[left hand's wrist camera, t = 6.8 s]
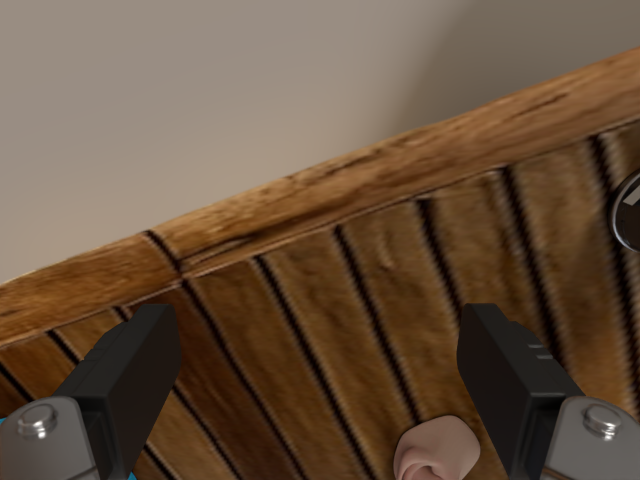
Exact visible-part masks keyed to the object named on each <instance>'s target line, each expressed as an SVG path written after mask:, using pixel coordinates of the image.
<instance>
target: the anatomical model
mask: <svg viewBox="0 0 640 480" xmlns="http://www.w3.org/2000/svg"><path fill="white" fill-rule="evenodd" d="M479 455H480V445H479V442H478V440H477V438H476V436H475V434H474V433H473V432H472V430H471V429H470V428H469V427H468V426H467V425H466V424H465V423H464V422H463V421H462V420H461V419H459V418H457V417H455V416H442V417H438V418H435V419H432V420H430V421H427V422H424V423H422V424H419V425H417V426H416V427H414V428H412V429H410V430H408V431H407V432H405V433H404V434H403V436H402V437H401V439H400V441H399V443H398V446H397V449H396V453H395V457H394V474H395V477H396V480H462V479H463V478H464V477H465V475H466V474H467V473H468V472H469V471H470V470H471V468H472V467H473V466H474V464H475V463H476V462H477V460H478V458H479Z"/></svg>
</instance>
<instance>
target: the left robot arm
mask: <svg viewBox="0 0 640 480" xmlns="http://www.w3.org/2000/svg"><path fill="white" fill-rule="evenodd" d="M608 225H609V229H610V231H611V233H612V235H613V237H614V238H615V239H616V240H617V241H618V242H619V243H620V244H621V245H623V246H625V247H627V248H628V249H630V250H632V251H635V252H638V253H640V169H638V170H637V171H635V172H634V173H633V174H631V175H630V176H629V177H628V178H627V179H626V180H625V181H624V182H623V183H622V184H621V185H620V187H619V188H618V189H617V191H616V193H615V194H614V196H613V198H612V201H611V203H610V207H609V211H608ZM457 365H458V370H459V373H460V375H461V377H462V380H463V382H464V384H465V386H466V388H467V390H468V392H469V394H470V396H471V399H472V401H473V403H474V405H475V407H476V409H477V411H478V413H479V415H480V417H481V420H482V422H483V424H484V426H485V428H486V430H487V432H488V434H489V436H490V438H491V441H492V443H493V445H494V447H495V449H496V451H497V453H498V455H499V457H500V459H501V462H502V464H503V466H504V468H505V470H506V472H507V474H508V476H509V478H510V480H640V424H639V423H638V422H637V421H636V420H635V419H634V418H633V417H632V416H631V415H630V414H628V413H627V412H626V411H624V410H623V409H621V408H619V407H618V406H616V405H614V404H612V403H609V402H607V401H604V400H601V399H598V398H594V397H589V396H586V395H585V394H584V393H583V392H582V390H581V389H580V388H579V387H578V386H577V384H576V383H575V382H574V381H573V380H572V379H571V377H570V376H569V375H568V374H567V373H566V371H565V370H564V369H563V368H562V367H561V365H560V364H559V363H558V362H557V361H556V360H555V359H553V356H552V355H551V354H550V352H549V351H548V350H547V349H546V348H544V345H543V344H542V343H541V342H540V341H539V339H538V338H537V337H536V336H535V335H534V333H533V332H531V331H530V330H528V329H527V328H525V327H523V326H522V325H520V324H519V323H517V322H516V321H509V320H508V319H507V318H506V316H505V315H504V314H503V313H502V311H501V310H500V309H499V308H498V306H497V305H496V304H494V303H467V304H465V306H464V308H463V312H462V318H461V325H460V332H459V339H458V346H457ZM180 366H181V347H180V340H179V333H178V327H177V320H176V313H175V309H174V307H173V305H172V304H143V305H141V306H140V308H139V309H138V310H137V311H136V313H135V314H134V315H133V317H132V318H131V319H130V320H129V322H121V323H120V324H118V325H117V326H115V327H114V328H112V329H111V330H109V331H108V332H106V333H105V334H104V335H103V336H102V337H101V338H100V339H99V341H98V342H97V343H96V344H95V345H94V348H93V349H91V350H90V351H89V352H88V354H87V355H86V356H85V357H84V360H82V361H81V362H80V363H79V364H78V365H77V366H76V368H75V369H74V370H73V371H72V372H71V374H70V375H69V376H68V377H67V378H66V379H65V381H64V382H63V383H62V384H61V385H60V386H59V388H58V389H57V390H56V391H55V392H54V394H53V395H52V396H51V397H46V398H42V399H39V400H36V401H33V402H31V403H28V404H26V405H24V406H22V407H21V408H19V409H17V410H16V411H14V412H13V413H12V414H10V415H9V416H8V417H7V418H6V419H5V420H4V421H3V422H2V423H1V424H0V480H128V478H129V476H130V474H131V472H132V469H133V467H134V465H135V463H136V461H137V459H138V457H139V455H140V453H141V451H142V449H143V447H144V445H145V442H146V440H147V438H148V436H149V434H150V432H151V430H152V428H153V426H154V424H155V422H156V420H157V417H158V415H159V413H160V411H161V409H162V407H163V405H164V403H165V401H166V399H167V397H168V395H169V393H170V390H171V388H172V386H173V384H174V382H175V380H176V378H177V376H178V374H179V370H180Z"/></svg>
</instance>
